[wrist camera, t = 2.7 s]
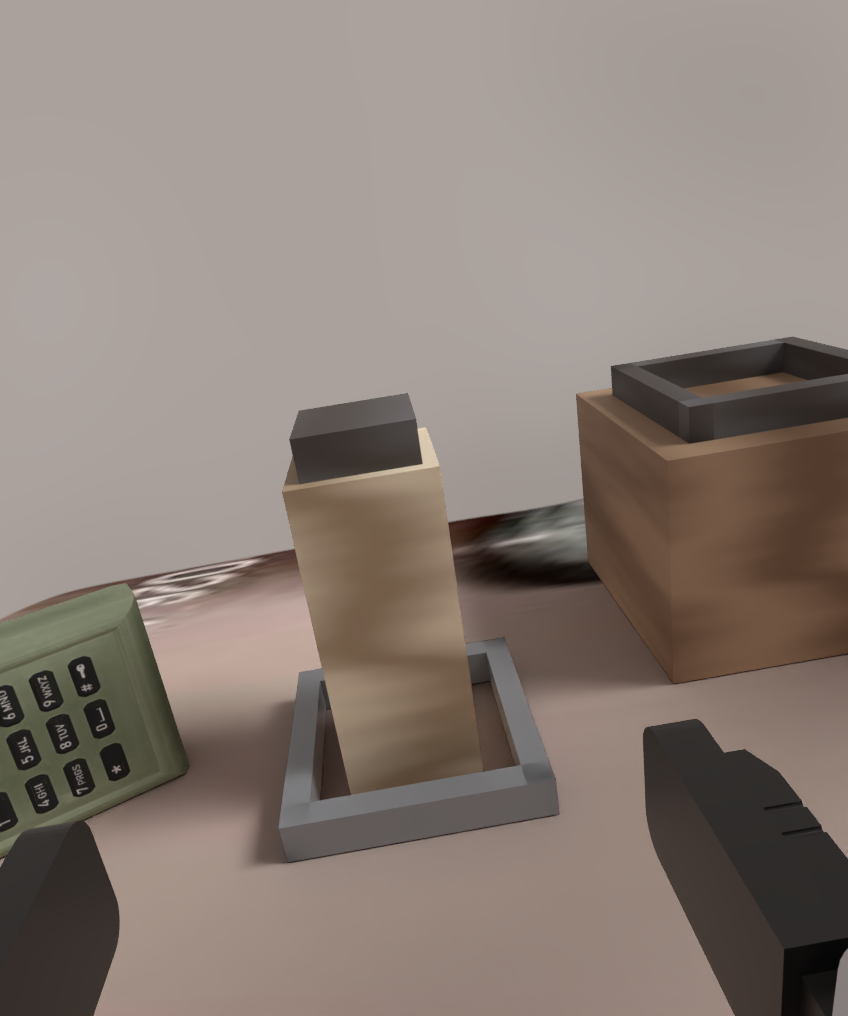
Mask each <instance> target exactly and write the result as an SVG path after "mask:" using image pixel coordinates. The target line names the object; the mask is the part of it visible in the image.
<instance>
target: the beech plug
mask: <svg viewBox="0 0 848 1016" xmlns="http://www.w3.org/2000/svg"><path fill="white" fill-rule="evenodd" d="M289 440H290V444H291V449H292V454H293V457H292V461H291V464H290V467H289V471H288V474H287V478H286V481H285V484H284V488H283V491H282V494H283V498H284V502H285V507H286V511H287V516H288V520H289V524H290V529H291V533H292V538H293V542H294V546H295V551H296V555H297V560H298V564H299V568H300V573H301V577H302V582H303V586H304V591H305V595H306V599H307V604H308V608H309V613H310V617H311V621H312V626H313V630H314V635H315V639H316V643H317V648H318V652H319V657H320V661H321V665H322V670H323V674H324V679H325V683H326V688H327V692H328V696H329V701H330V705H331V710H332V714H333V718H334V723H335V727H336V732H337V736H338V740H339V745H340V749H341V754H342V758H343V762H344V767H345V771H346V776H347V780H348V784H349V789H350V793H351V795H353V794H359V793H365V792H370V791H376V790H382V789H387V788H393V787H399V786H404V785H410V784H416V783H421V782H427V781H433V780H438V779H444V778H450V777H456V776H461V775H467V774H473V773H478V772H484V770H483V763H482V756H481V749H480V742H479V735H478V728H477V721H476V714H475V707H474V701H473V694H472V687H471V680H470V673H469V666H468V659H467V652H466V645H465V638H464V631H463V624H462V617H461V610H460V603H459V596H458V589H457V582H456V575H455V569H454V562H453V555H452V548H451V541H450V534H449V527H448V520H447V513H446V506H445V499H444V492H443V485H442V478H441V471H440V465H439V463H438V460H437V457H436V454H435V451H434V448H433V446H432V443H431V440H430V437H429V434H428V431H427V428H426V427H425V428H419V429H417V423H416V418H415V414H414V412H413V408H412V405H411V402H410V399H409V395H408V393H406V394H400V395H394V396H387V397H381V398H375V399H369V400H363V401H357V402H350V403H344V404H338V405H333V406H326V407H320V408H313V409H307V410H301V411H299V412H298V415H297V418H296V421H295V424H294V427H293V430H292V433H291V436H290V439H289Z"/></svg>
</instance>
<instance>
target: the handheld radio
mask: <svg viewBox="0 0 848 1016" xmlns="http://www.w3.org/2000/svg"><path fill="white" fill-rule="evenodd" d="M188 768H189V763H188V760H187V757H186V754H185V750H184V747H183V744H182V741H181V738H180V735H179V732H178V729H177V726H176V722H175V719H174V716H173V713H172V710H171V707H170V704H169V701H168V698H167V694H166V691H165V688H164V685H163V682H162V679H161V676H160V673H159V670H158V666H157V663H156V660H155V657H154V654H153V651H152V648H151V645H150V642H149V638H148V635H147V632H146V629H145V626H144V623H143V620H142V617H141V614H140V610H139V607H138V604H137V601H136V598H135V595H134V594H133V592H132V591H131V589H130V588H129V587H128V585H127V584H126V583H125V584H120V585H115V586H110V587H107V588H104V589H101V590H98V591H95V592H92V593H89V594H86V595H83V596H80V597H77V598H74V599H71V600H68V601H65V602H62V603H59V604H56V605H53V606H50V607H47V608H44V609H41V610H38V611H35V612H32V613H29V614H26V615H23V616H20V617H17V618H14V619H11V620H8V621H5V622H2V623H0V858H2V857H4V856H6V855H8V853H9V851H10V849H11V848H12V846H13V844H14V842H15V841H16V839H17V838H18V836H19V835H20V834H21V833H22V832H23V831H25V830H28V829H32V828H38V827H44V826H50V825H56V824H62V823H68V822H74V821H83V820H85V819H87V818H89V817H91V816H94V815H96V814H98V813H100V812H102V811H104V810H107V809H109V808H111V807H113V806H115V805H117V804H120V803H122V802H124V801H126V800H128V799H130V798H133V797H135V796H137V795H139V794H141V793H143V792H146V791H148V790H150V789H152V788H154V787H157V786H159V785H161V784H163V783H165V782H167V781H170V780H172V779H174V778H176V777H178V776H180V775H183V774H185V773H186V772H187V770H188Z"/></svg>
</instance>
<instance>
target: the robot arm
mask: <svg viewBox="0 0 848 1016" xmlns="http://www.w3.org/2000/svg"><path fill="white" fill-rule="evenodd" d="M643 750H644V775H645V800H646V815H647V822H648V827H649V831H650V835H651V839H652V842H653V845H654V848H655V851H656V853H657V856H658V858H659V860H660V862H661V865H662V867H663V869H664V871H665V873H666V875H667V877H668V879H669V881H670V883H671V885H672V887H673V889H674V891H675V893H676V895H677V897H678V900H679V902H680V904H681V906H682V908H683V910H684V912H685V914H686V916H687V918H688V920H689V922H690V924H691V926H692V928H693V930H694V933H695V935H696V937H697V939H698V941H699V943H700V945H701V947H702V949H703V951H704V953H705V955H706V957H707V959H708V961H709V963H710V965H711V968H712V970H713V972H714V974H715V976H716V978H717V980H718V982H719V984H720V986H721V988H722V990H723V992H724V994H725V996H726V998H727V1000H728V1003H729V1005H730V1007H731V1009H732V1011H733V1013H734V1015H735V1016H848V859H847V857H846V856H845V855H844V854H843V852H842V851H841V850H840V849H839V847H838V846H837V845H836V844H835V842H834V841H833V840H832V838H831V837H830V836H829V835H828V833H827V832H823V830H822V827H821V825H820V823H819V822H818V821H817V820H816V818H815V817H814V816H813V814H812V813H811V812H810V811H809V809H808V808H807V807H804V806H803V804H802V801H801V799H800V798H799V797H798V796H797V794H796V793H795V792H794V790H793V789H792V788H791V787H790V785H789V784H788V783H787V782H786V780H785V779H784V778H783V777H782V775H781V774H780V773H779V772H778V771H777V770H775V769H774V768H772V767H771V766H769V765H768V764H766V763H765V762H763V761H762V760H760V759H759V758H757V757H755V756H754V755H752V754H751V753H749V752H748V751H746V750H745V749H744V750H738V751H732V752H726V753H724V752H723V751H722V749H721V748H720V747H719V745H718V744H717V742H716V741H715V740H714V738H713V737H712V735H711V734H710V733H709V731H708V730H707V728H706V727H705V726H704V724H703V723H702V722H701V721H700V720H698V719H692V720H686V721H680V722H675V723H669V724H663V725H657V726H651V727H646V728H645V730H644V733H643ZM119 922H120V920H119V908H118V903H117V899H116V896H115V893H114V891H113V888H112V885H111V883H110V880H109V877H108V875H107V872H106V869H105V867H104V864H103V861H102V859H101V856H100V853H99V851H98V848H97V845H96V843H95V840H94V837H93V834H92V832H91V830H90V828H89V826H88V825H87V824H86V823H85V822H83V821H74V822H68V823H62V824H56V825H50V826H44V827H38V828H32V829H28V830H25V831H23V832H22V833H21V834H20V835H19V836H18V838H17V839H16V841H15V842H14V844H13V846H12V848H11V849H10V851H9V853H8V855H7V856H6V858H5V860H4V862H3V863H2V865H1V867H0V1016H93V1015H94V1012H95V1009H96V1006H97V1003H98V1000H99V998H100V995H101V992H102V989H103V986H104V983H105V980H106V977H107V974H108V971H109V968H110V965H111V963H112V960H113V957H114V954H115V951H116V947H117V943H118V937H119Z"/></svg>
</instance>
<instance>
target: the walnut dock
mask: <svg viewBox="0 0 848 1016" xmlns="http://www.w3.org/2000/svg"><path fill="white" fill-rule="evenodd" d="M611 374H612V375H611V376H612V388H609V389H603V390H597V391H590V392H584V393H578V394H576V400H577V414H578V427H579V441H580V455H581V469H582V482H583V496H584V510H585V524H586V538H587V551H588V562H589V564H590V565H591V567H592V568H593V569H594V571H595V572H596V574H597V575H598V577H599V578H600V579H601V581H602V582H603V584H604V585H605V587H606V588H607V589H608V591H609V592H610V594H611V595H612V597H613V598H614V599H615V601H616V602H617V604H618V605H619V606H620V608H621V609H622V611H623V612H624V614H625V615H626V616H627V618H628V619H629V621H630V622H631V624H632V625H633V626H634V628H635V629H636V631H637V632H638V634H639V635H640V636H641V638H642V639H643V641H644V642H645V644H646V645H647V646H648V648H649V649H650V651H651V652H652V654H653V655H654V656H655V658H656V659H657V661H658V662H659V664H660V665H661V666H662V668H663V669H664V671H665V672H666V674H667V675H668V676H669V678H670V679H671V681H672V682H673V684H675V683H681V682H687V681H692V680H698V679H704V678H710V677H715V676H721V675H727V674H733V673H738V672H744V671H750V670H756V669H761V668H767V667H773V666H779V665H784V664H790V663H796V662H801V661H807V660H813V659H819V658H824V657H830V656H836V655H842V654H847V653H848V350H846V349H842V348H838V347H834V346H829V345H825V344H821V343H817V342H812V341H808V340H804V339H800V338H796V337H788V338H782V339H776V340H770V341H764V342H758V343H752V344H745V345H739V346H733V347H727V348H720V349H714V350H708V351H702V352H696V353H690V354H684V355H677V356H671V357H665V358H659V359H652V360H646V361H640V362H634V363H628V364H622V365H615V366H611Z"/></svg>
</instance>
